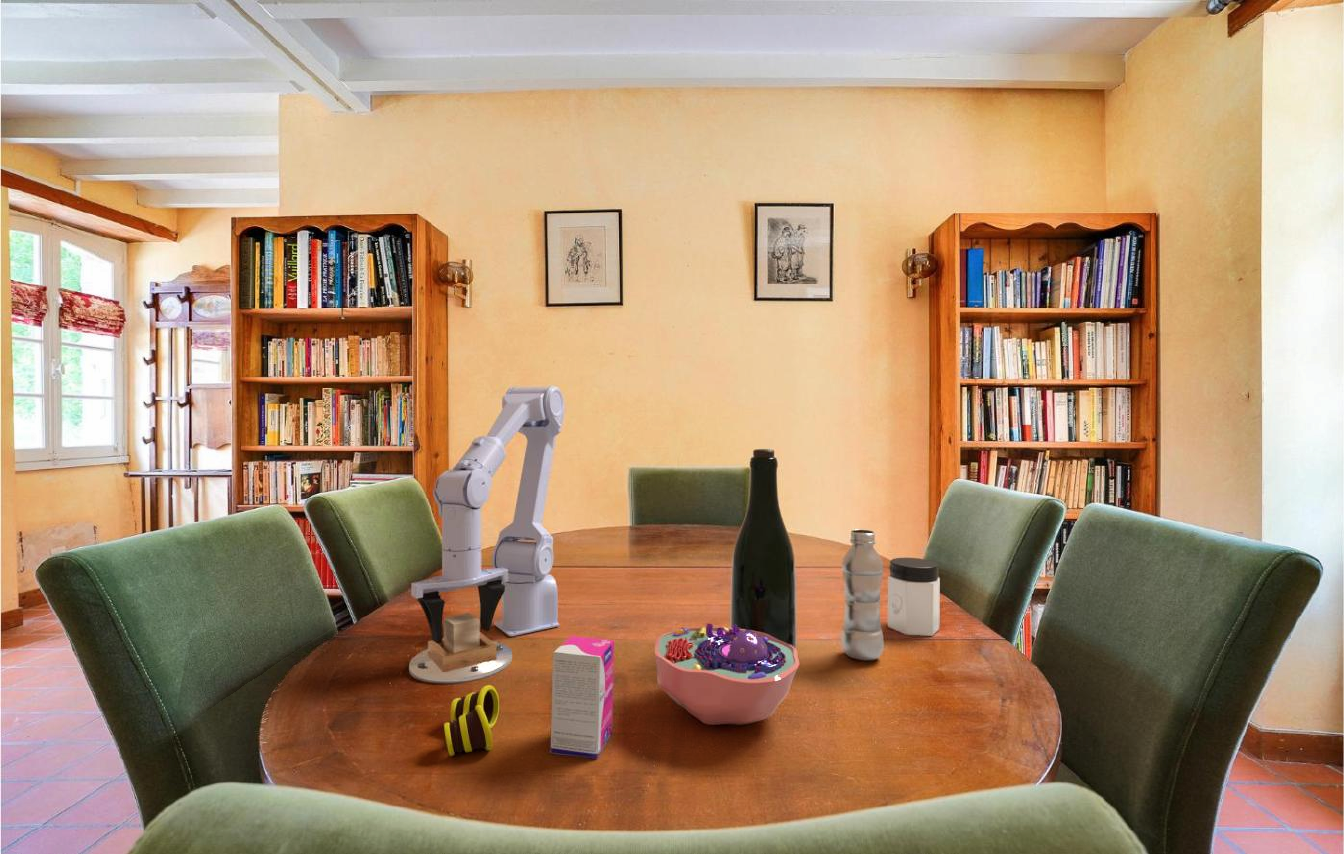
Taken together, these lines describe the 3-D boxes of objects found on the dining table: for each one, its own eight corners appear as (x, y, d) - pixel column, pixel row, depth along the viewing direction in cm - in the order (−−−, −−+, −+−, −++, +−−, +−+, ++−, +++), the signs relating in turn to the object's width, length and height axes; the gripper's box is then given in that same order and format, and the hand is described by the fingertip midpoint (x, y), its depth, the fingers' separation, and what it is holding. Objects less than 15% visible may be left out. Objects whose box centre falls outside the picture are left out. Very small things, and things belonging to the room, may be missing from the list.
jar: (878, 623, 113) (878, 559, 113) (911, 618, 116) (912, 555, 116) (914, 639, 104) (915, 570, 104) (950, 633, 108) (950, 565, 107)
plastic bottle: (885, 653, 98) (886, 529, 98) (881, 668, 92) (881, 536, 92) (844, 646, 101) (845, 526, 101) (837, 661, 95) (838, 533, 95)
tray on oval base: (492, 638, 104) (492, 621, 104) (527, 666, 92) (527, 647, 92) (398, 658, 96) (398, 639, 96) (423, 692, 83) (423, 671, 83)
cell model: (709, 671, 91) (709, 596, 91) (827, 718, 77) (827, 628, 77) (622, 708, 79) (622, 622, 79) (742, 772, 65) (742, 666, 65)
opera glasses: (459, 727, 76) (451, 688, 76) (502, 715, 77) (494, 677, 77) (446, 770, 67) (437, 726, 66) (495, 756, 68) (486, 713, 67)
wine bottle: (745, 638, 105) (746, 447, 104) (805, 650, 99) (805, 448, 99) (719, 659, 96) (719, 449, 95) (783, 673, 90) (784, 451, 90)
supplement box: (599, 759, 67) (599, 656, 67) (549, 753, 68) (549, 652, 68) (614, 733, 73) (615, 638, 73) (568, 728, 74) (568, 634, 74)
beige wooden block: (468, 650, 97) (468, 612, 97) (479, 657, 94) (479, 619, 94) (443, 656, 94) (443, 618, 94) (453, 664, 91) (453, 624, 91)
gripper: (494, 537, 102) (494, 618, 102) (404, 549, 92) (404, 639, 92) (514, 544, 96) (514, 629, 96) (420, 557, 87) (421, 652, 87)
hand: (461, 635), depth 94 cm, fingers open, 7 cm apart
